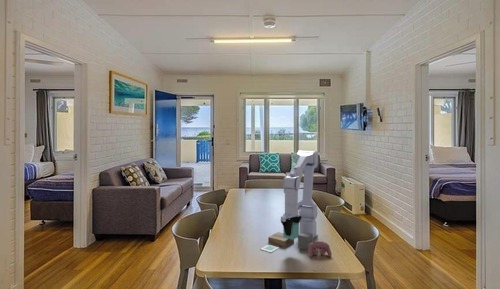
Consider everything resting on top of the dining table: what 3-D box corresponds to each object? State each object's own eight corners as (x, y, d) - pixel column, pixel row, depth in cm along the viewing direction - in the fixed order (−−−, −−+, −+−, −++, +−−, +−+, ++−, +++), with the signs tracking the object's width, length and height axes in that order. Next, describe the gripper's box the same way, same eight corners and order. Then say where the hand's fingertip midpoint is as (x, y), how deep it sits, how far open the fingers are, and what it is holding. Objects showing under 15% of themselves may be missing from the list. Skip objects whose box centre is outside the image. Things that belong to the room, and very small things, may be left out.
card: (268, 245, 147) (268, 244, 147) (279, 247, 144) (279, 247, 144) (260, 249, 142) (260, 248, 142) (271, 252, 138) (271, 251, 138)
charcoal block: (303, 244, 149) (303, 232, 148) (312, 246, 146) (312, 234, 145) (298, 247, 145) (298, 234, 144) (307, 250, 142) (307, 237, 141)
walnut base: (278, 237, 157) (278, 232, 157) (293, 241, 152) (293, 235, 151) (268, 243, 150) (268, 236, 150) (284, 247, 144) (284, 241, 144)
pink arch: (329, 258, 136) (327, 241, 139) (332, 257, 132) (330, 240, 135) (307, 258, 136) (306, 241, 139) (309, 257, 132) (308, 240, 135)
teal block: (289, 234, 141) (289, 221, 141) (298, 236, 138) (298, 223, 138) (283, 237, 137) (283, 224, 137) (293, 239, 134) (293, 226, 134)
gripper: (291, 208, 129) (290, 240, 130) (307, 201, 140) (306, 231, 141) (276, 205, 133) (276, 236, 134) (293, 199, 145) (293, 228, 145)
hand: (291, 233), depth 138 cm, fingers closed on teal block, 5 cm apart
